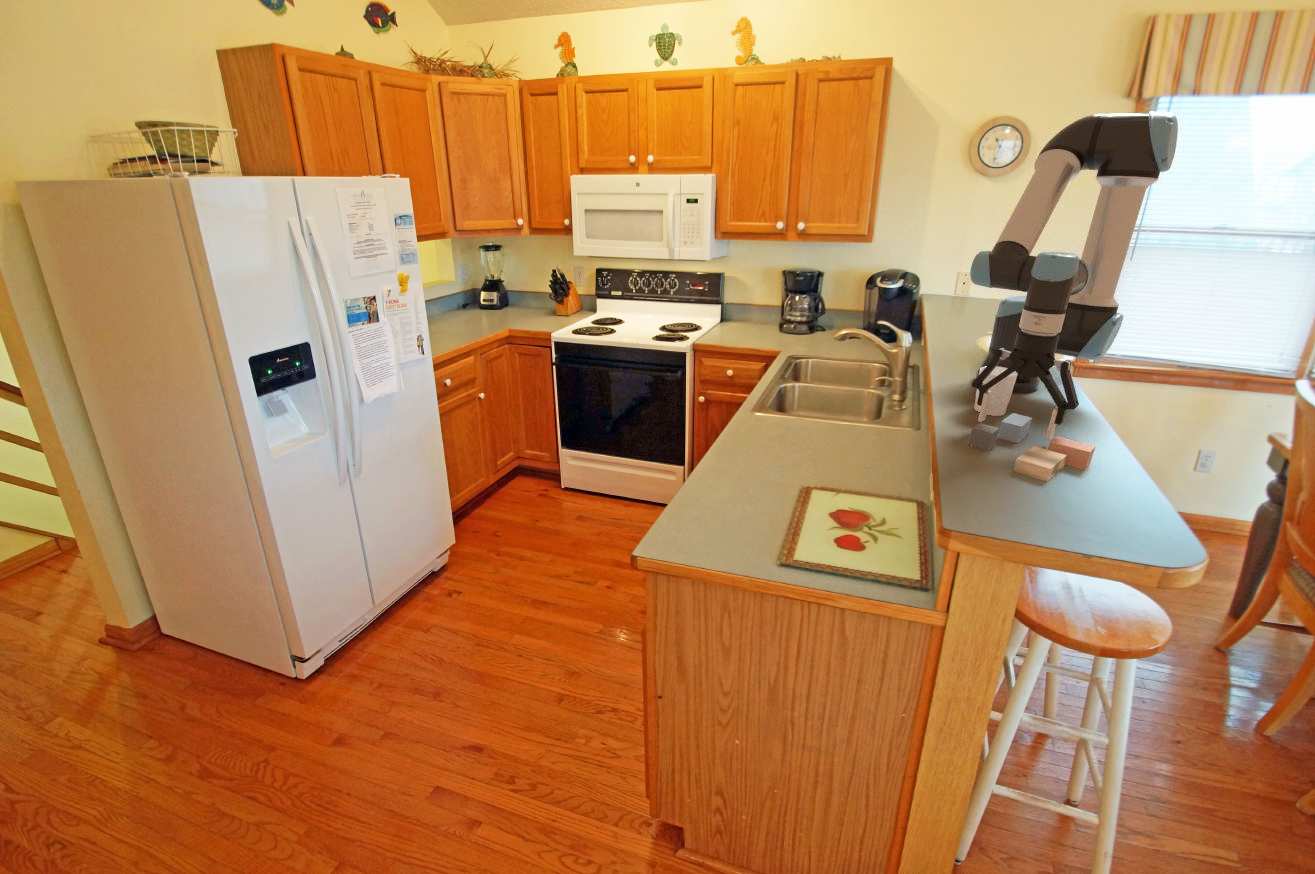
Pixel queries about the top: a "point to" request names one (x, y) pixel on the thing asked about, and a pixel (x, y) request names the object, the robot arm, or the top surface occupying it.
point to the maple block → (1040, 463)
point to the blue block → (1014, 427)
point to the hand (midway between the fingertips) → (1014, 428)
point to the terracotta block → (1073, 451)
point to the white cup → (998, 392)
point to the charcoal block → (984, 436)
